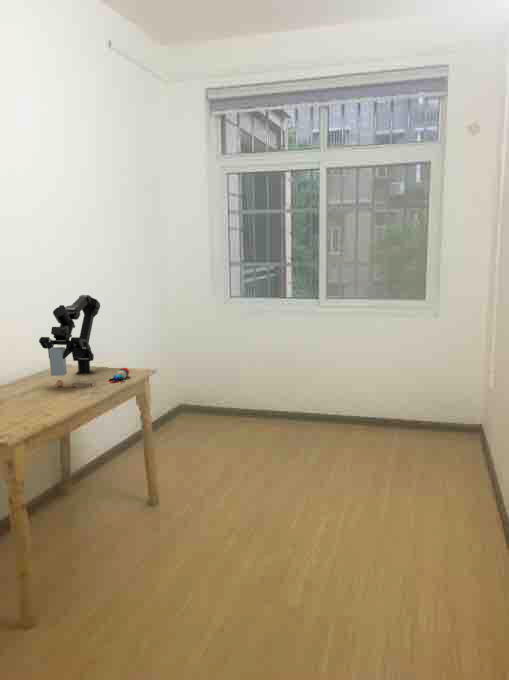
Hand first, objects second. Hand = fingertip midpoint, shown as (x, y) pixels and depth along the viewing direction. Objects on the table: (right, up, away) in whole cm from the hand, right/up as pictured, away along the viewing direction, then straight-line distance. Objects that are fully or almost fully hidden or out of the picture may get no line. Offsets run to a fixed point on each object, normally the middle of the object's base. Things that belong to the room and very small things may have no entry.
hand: (56, 358), depth 245 cm
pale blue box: (0, -7, +3) cm, 8 cm away
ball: (0, -13, +4) cm, 13 cm away
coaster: (+10, -12, +6) cm, 17 cm away
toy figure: (+24, -11, +17) cm, 31 cm away
